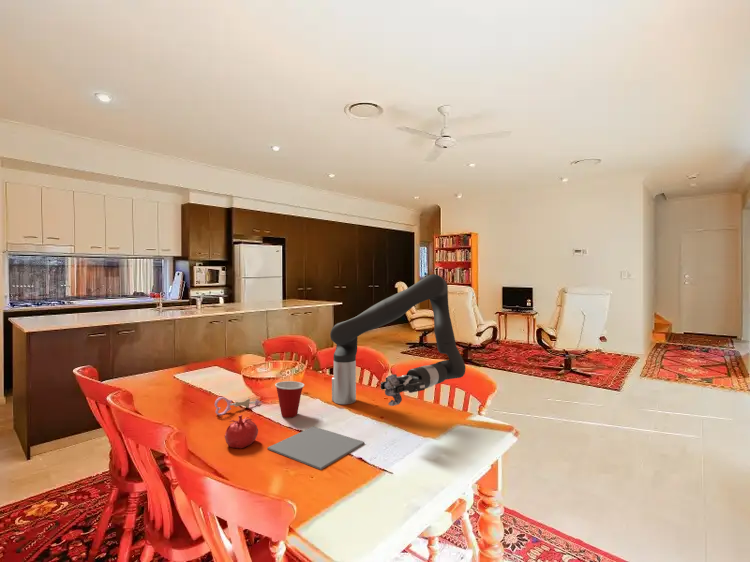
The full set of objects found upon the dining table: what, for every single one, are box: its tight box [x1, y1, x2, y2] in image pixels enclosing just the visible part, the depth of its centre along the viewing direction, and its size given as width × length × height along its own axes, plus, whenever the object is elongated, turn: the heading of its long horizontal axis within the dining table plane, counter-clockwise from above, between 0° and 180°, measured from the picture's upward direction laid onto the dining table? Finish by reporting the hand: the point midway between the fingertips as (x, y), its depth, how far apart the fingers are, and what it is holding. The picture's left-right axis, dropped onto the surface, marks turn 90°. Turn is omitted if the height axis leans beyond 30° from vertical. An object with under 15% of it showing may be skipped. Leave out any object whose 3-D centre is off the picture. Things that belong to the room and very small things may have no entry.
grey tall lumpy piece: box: [384, 373, 403, 407], centre depth 126 cm, size 5×5×10 cm
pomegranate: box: [224, 414, 259, 449], centre depth 125 cm, size 10×10×9 cm
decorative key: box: [214, 396, 262, 416], centre depth 156 cm, size 7×1×20 cm
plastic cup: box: [274, 380, 305, 419], centre depth 150 cm, size 11×11×12 cm
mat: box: [267, 425, 365, 471], centre depth 123 cm, size 22×20×1 cm
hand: (387, 388), depth 124 cm, fingers closed on grey tall lumpy piece, 5 cm apart
